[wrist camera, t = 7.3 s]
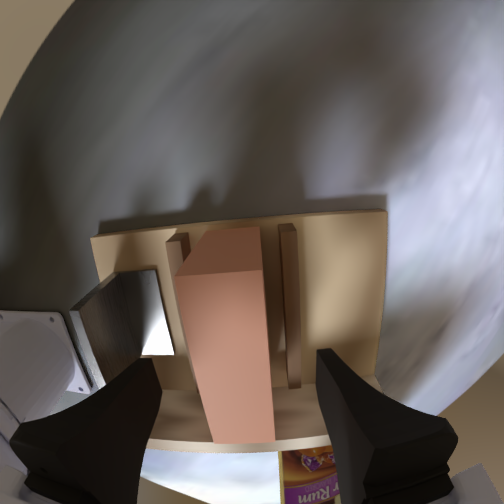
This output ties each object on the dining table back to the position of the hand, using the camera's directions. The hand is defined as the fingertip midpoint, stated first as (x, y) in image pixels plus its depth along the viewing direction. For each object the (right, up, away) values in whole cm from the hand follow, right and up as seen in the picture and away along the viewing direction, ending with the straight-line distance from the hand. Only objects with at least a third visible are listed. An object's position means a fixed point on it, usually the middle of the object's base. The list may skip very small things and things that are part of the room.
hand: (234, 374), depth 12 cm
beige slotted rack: (0, +1, +7) cm, 7 cm away
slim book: (0, +2, +6) cm, 6 cm away
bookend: (-6, +1, +6) cm, 9 cm away
